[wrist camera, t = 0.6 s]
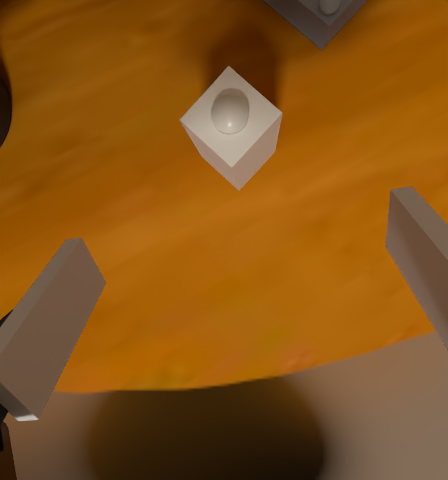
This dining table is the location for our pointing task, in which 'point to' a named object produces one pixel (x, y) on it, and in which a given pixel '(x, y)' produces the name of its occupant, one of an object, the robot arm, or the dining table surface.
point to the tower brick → (233, 127)
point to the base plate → (317, 16)
